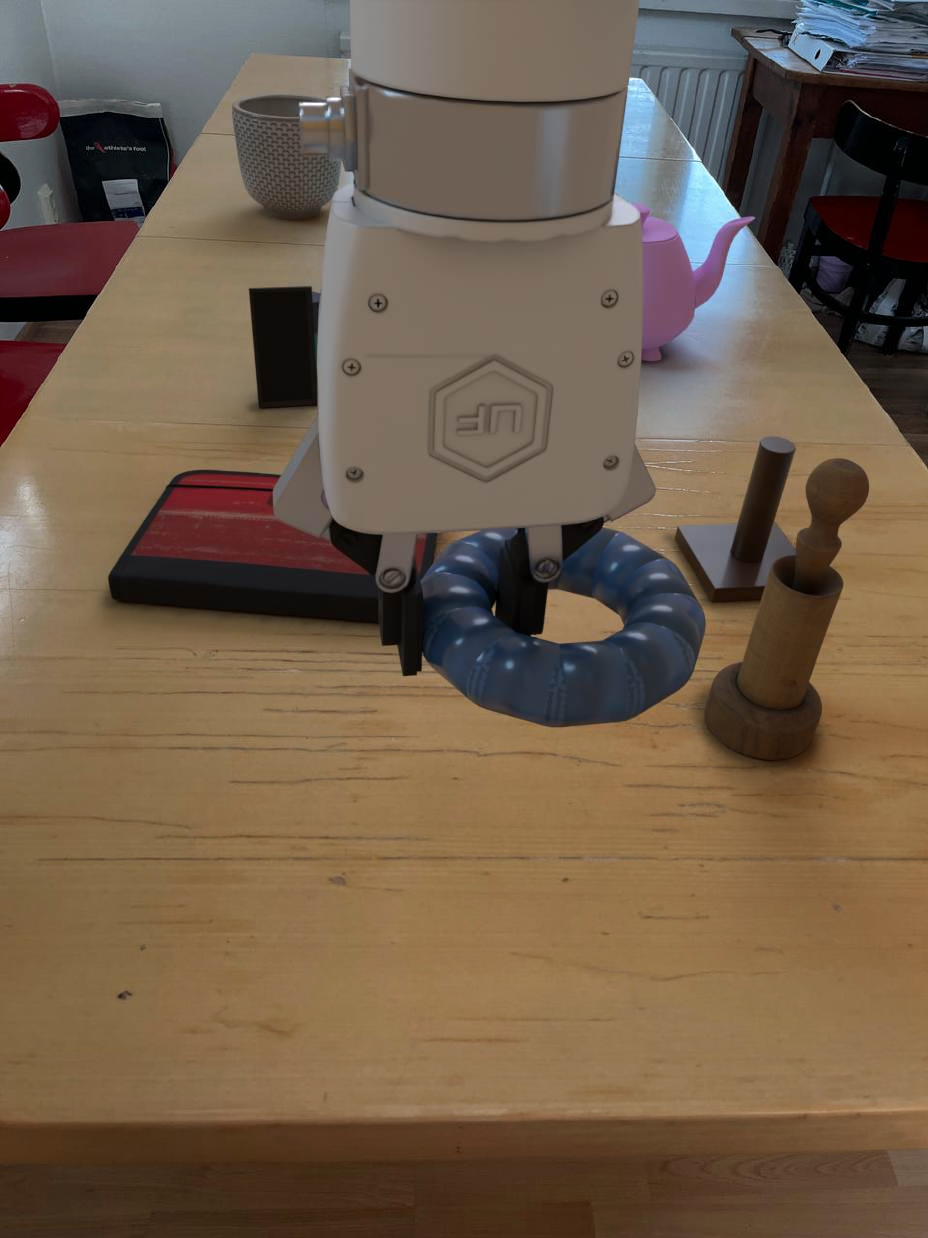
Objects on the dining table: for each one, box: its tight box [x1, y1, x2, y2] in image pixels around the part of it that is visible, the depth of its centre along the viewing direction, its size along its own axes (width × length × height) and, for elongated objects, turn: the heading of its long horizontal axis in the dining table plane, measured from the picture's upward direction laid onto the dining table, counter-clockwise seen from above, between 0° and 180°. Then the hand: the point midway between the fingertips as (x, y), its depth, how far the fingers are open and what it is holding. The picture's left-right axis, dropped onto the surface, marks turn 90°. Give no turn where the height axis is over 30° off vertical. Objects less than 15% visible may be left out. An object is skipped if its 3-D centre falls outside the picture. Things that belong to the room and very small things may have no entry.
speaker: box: [248, 285, 321, 409], centre depth 89 cm, size 8×6×10 cm
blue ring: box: [420, 526, 707, 728], centre depth 39 cm, size 11×11×3 cm
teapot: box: [630, 202, 756, 362], centre depth 102 cm, size 22×16×14 cm
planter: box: [231, 93, 343, 221], centre depth 130 cm, size 14×14×13 cm
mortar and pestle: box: [704, 457, 870, 761], centre depth 56 cm, size 7×6×18 cm
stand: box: [674, 435, 797, 603], centre depth 71 cm, size 8×8×10 cm
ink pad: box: [107, 469, 438, 623], centre depth 72 cm, size 16×2×21 cm
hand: (459, 645), depth 39 cm, fingers closed on blue ring, 3 cm apart
